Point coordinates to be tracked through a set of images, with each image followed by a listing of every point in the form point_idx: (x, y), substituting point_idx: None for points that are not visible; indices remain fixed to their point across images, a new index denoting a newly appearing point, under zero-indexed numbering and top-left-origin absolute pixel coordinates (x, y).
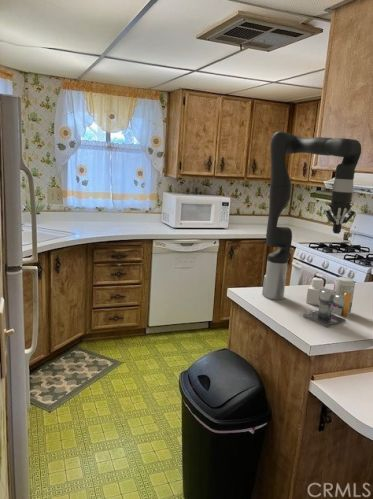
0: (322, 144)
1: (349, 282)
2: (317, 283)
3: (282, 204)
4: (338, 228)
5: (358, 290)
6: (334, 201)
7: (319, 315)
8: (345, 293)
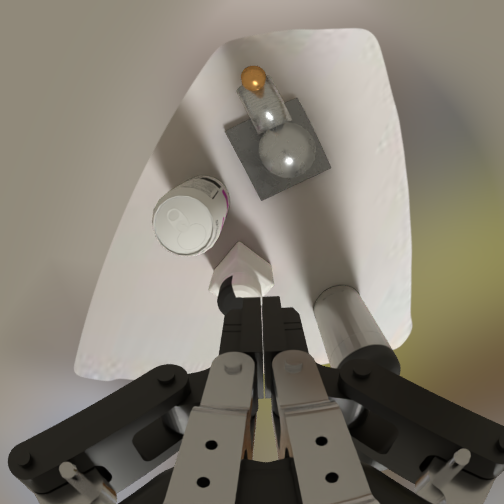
0: None
1: (181, 194)
2: (252, 282)
3: None
4: (261, 324)
5: (99, 342)
6: None
7: None
8: (262, 78)
